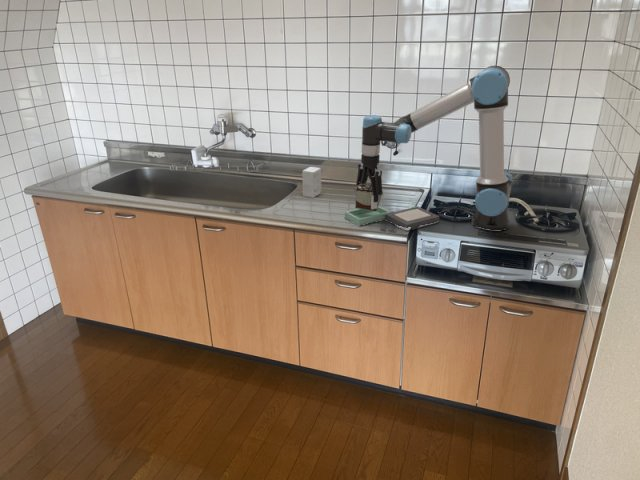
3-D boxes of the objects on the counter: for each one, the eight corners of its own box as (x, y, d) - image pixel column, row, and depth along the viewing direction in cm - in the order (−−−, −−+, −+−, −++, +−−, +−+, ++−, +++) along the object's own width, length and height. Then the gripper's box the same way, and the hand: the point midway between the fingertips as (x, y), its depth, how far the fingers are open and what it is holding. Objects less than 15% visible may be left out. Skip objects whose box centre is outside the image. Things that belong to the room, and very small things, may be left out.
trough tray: (390, 218, 216) (391, 212, 215) (359, 226, 208) (359, 219, 207) (375, 210, 224) (376, 204, 223) (344, 218, 216) (344, 211, 215)
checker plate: (430, 217, 211) (431, 215, 211) (407, 223, 205) (407, 221, 205) (416, 210, 218) (417, 208, 218) (393, 216, 212) (393, 214, 212)
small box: (310, 191, 250) (310, 166, 244) (321, 193, 247) (321, 168, 242) (302, 196, 243) (302, 170, 238) (313, 198, 240) (313, 172, 235)
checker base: (438, 222, 211) (439, 215, 210) (406, 231, 203) (407, 223, 201) (416, 212, 222) (417, 205, 221) (385, 220, 214) (385, 212, 212)
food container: (380, 205, 218) (384, 185, 213) (379, 212, 213) (383, 191, 208) (353, 201, 219) (356, 180, 214) (351, 207, 214) (355, 187, 209)
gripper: (393, 158, 198) (389, 211, 207) (363, 147, 214) (361, 197, 224) (378, 161, 194) (375, 214, 204) (348, 149, 211) (347, 199, 220)
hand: (368, 205), depth 214 cm, fingers closed on food container, 8 cm apart
